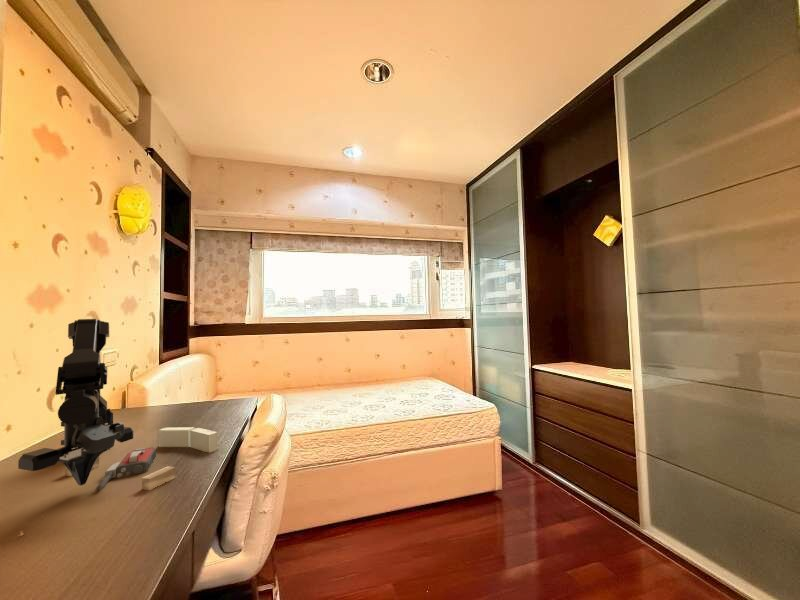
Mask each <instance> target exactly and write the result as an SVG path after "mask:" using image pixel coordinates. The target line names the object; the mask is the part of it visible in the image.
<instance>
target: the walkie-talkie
mask: <svg viewBox="0 0 800 600" xmlns="http://www.w3.org/2000/svg"><path fill="white" fill-rule="evenodd" d="M155 457H156V458H157V448H155V447H153V446H151V447H146V448H145V447H144V448H143V447H141V448H136V449H133V450H132V451H130V452H128V453H127V454H126V455H125V457H124V458H123V459H122V460H121V461H118V462H115V463H113V464H111V465H110V466H109V467H108V468H107V469H106V470H105V471H104V478H103V479H102V480H101V482H100V483H99V484H98V485H97V487H96V490H99V491H100V490H102V489H104V487H105V485H106V484H107V483H108V482H109V480H111V479H113V478H118V479H119V478H122V477H125V476H132V475H138V474H141V472H142V473H145V472H144V471H147V472H148V471H149V470H150V468H151V467H152V465H151V464H153V463H154V461H155V460H156V458H155ZM154 459H155V460H154ZM153 460H154V461H153ZM150 466H151V467H150ZM148 469H149V470H148Z"/></svg>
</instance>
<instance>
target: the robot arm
mask: <svg viewBox="0 0 800 600" xmlns="http://www.w3.org/2000/svg"><path fill="white" fill-rule="evenodd" d="M67 326H68V328H67V337H68V339H69V340H71V341H72V352H71V353H69V354H68V355H66V356H65V357H64V358H63V362H62V365H61V366H58V368H57V375H56V376H57V377H56V383H55V384H56V385H55V396H57V395H65V396H64V401H63V402H62V404H61V405H60V406H59V408H58V410H57V417H58V419H59V421H60V427H64V429H63V430H64V432H63V433H64V437H63V438H64V439H61V440H60V446H63V447H59V448H48V447H43V448H40V449H36V450H33V451H30V452H26V453H23V454H22V455H21V456H20V457H19V459H18V463H17V465H18V467H17V468H18V469H19V470H22V471H23V470H24V471H29V472H36V471H40V470H44V469H46V468H50V467H52V466H55V465H57V463H62V464H63V465H64V467H65V466H66V467H67V468H68V470H69V471H70V473H71V474H72V476H71V477H72V478H74V481H75V482H76V484H77V485H78V486H85V484H87V481H88V479H89V477H90V474H91V471H92V467H93V465H94V463H95V461H96V459H97V458H98V457H100V456H101V455H102V454H103V453H105V452H107V450H109V449H111V448H113V447H114V445H115V442H116V441H117V442H118V443H124V442H127V441H130V440H133V439H134V438H135V437H134V435H135V433H134V429H132V427H129V426H127V427H126V426H125V424H124V423H123V422H122V421H118V422H115V423H114V412H112V410H111V408H108V401H107V400H106V399H105V398H104V397H103V396H102V395H101V390H102V389H104V387H105V386H106V385H107V384H108V366H107V365H106V363H104V362H101V354H100V353H101V351H102V350H103V348H104V347H105V345H106V344H107V338H109V337H110V322H107V321H104V320H103V321H102V320H100V319H97V318H79V319H77V320H74V322H70V323H68V325H67ZM62 385H63V386H62Z"/></svg>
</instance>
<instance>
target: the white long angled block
mask: <svg viewBox="0 0 800 600" xmlns="http://www.w3.org/2000/svg"><path fill="white" fill-rule="evenodd" d="M218 439H219V437H218V431H214V430H209V429H205V428H201V427H197V428H195V427H192V426H191V427H183V426H182V427H181V426H180V427H163V428H160V429H158V448H189V447H190V448H192V449H196V450H198V451H199V450H200V451H202V452H206V453H213V452H215V451H217V450H219V449H218Z"/></svg>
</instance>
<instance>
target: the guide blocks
mask: <svg viewBox="0 0 800 600" xmlns="http://www.w3.org/2000/svg"><path fill="white" fill-rule="evenodd" d="M99 467H100V456H98V458H97V459H96V461H95V463H94V465H93V467H92V469H95V468H99ZM92 469H91V470H92ZM64 476H67V477H73V476H72V474H71V473H70V471H69V470H68V468H67V467H66V466H65V465H64ZM174 479H176V466H175V467H174V466H169V465H167V466H166V467H163V468H161V469H158V470H156V471H153V472H152V473H149V474H148V475H145V476H142V477H141V489H142V490H146V491H152V490H153V488H154V489H155V487H156V488H157V486H158V487H159V486H162V485H163V484H166V483H168V482H170V481H171V480H174ZM165 482H166V483H165Z"/></svg>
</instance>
